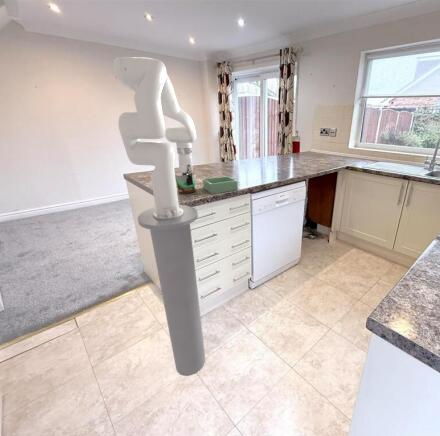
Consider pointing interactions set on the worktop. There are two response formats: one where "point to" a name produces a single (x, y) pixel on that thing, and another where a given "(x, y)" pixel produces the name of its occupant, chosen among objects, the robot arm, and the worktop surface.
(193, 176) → the food container
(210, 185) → the tub
